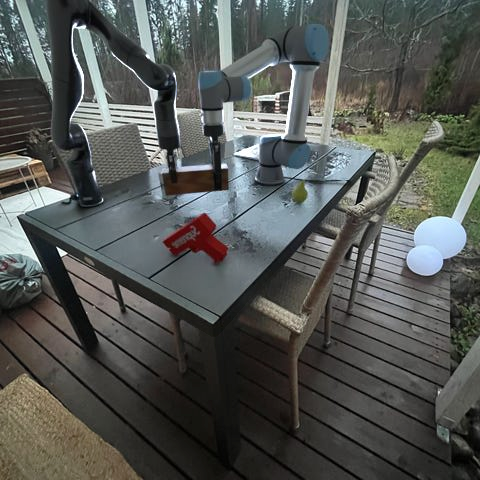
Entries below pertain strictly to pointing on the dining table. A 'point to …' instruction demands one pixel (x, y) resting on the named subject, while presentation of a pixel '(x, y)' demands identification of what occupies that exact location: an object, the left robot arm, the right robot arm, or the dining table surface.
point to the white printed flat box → (249, 153)
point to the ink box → (164, 188)
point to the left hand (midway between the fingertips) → (174, 178)
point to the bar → (194, 179)
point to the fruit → (300, 192)
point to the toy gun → (197, 239)
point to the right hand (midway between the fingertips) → (217, 186)
